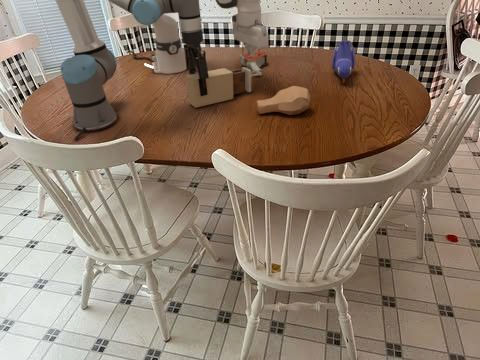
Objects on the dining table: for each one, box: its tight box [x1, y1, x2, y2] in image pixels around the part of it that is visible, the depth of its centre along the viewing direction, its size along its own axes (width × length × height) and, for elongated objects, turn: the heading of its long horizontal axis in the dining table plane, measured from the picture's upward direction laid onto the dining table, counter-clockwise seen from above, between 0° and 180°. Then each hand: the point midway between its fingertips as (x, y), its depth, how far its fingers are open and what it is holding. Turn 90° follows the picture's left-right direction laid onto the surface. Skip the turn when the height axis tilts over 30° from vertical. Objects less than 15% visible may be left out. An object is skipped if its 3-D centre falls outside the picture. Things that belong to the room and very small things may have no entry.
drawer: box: [230, 66, 263, 95], centre depth 146 cm, size 22×5×9 cm, turn 122°
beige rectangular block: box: [185, 67, 234, 109], centre depth 140 cm, size 17×7×11 cm, turn 122°
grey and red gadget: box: [239, 51, 268, 77], centre depth 171 cm, size 18×5×20 cm
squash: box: [255, 85, 312, 116], centre depth 130 cm, size 11×20×9 cm, turn 92°
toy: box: [331, 39, 356, 84], centre depth 153 cm, size 10×17×25 cm
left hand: (199, 92), depth 139 cm, fingers closed on beige rectangular block, 7 cm apart
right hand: (250, 55), depth 143 cm, fingers closed
